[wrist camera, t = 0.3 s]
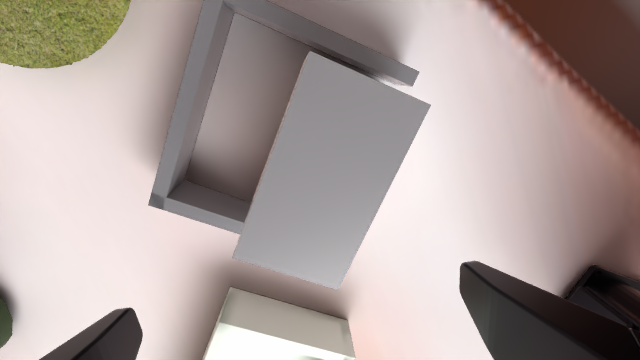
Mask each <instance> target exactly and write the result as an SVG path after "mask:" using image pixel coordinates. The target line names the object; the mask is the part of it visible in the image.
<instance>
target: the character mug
mask: <svg viewBox="0 0 640 360" xmlns="http://www.w3.org/2000/svg"><path fill="white" fill-rule="evenodd" d="M11 336H12V317H11V315H10V313H9V311H8V309H7V306H6V304H5V302H4V301H3V300H2V299H1V298H0V348H1V347H3V346H4V345H5V344H6V343H7V341H8V340H9V339H10V337H11Z"/></svg>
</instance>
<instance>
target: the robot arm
mask: <svg viewBox="0 0 640 360" xmlns="http://www.w3.org/2000/svg"><path fill="white" fill-rule="evenodd" d="M459 288H460V293H461V296H462V298H463V300H464V302H465V305H466V307H467V309H468V311H469V313H470V315H471V317H472V319H473V321H474V323H475V325H476V327H477V329H478V331H479V333H480V335H481V337H482V339H483V341H484V343H485V345H486V347H487V349H488V350H489V352H490V354H491V355H492V357H493V359H494V360H640V282H639V281H637V280H634V279H632V278H629V277H626V276H624V275H621V274H618V273H616V272H613V271H611V270H608V269H605V268H603V267H600V266H598V265H594V266H592V267H590V268H589V269H588V271H587V272H586V273H585V274H584V276H583V277H582V278H581V280H580V281H579V282H578V284H577V285H576V286H575V288H574V289H573V290H572V292H571V293H570V294H569V296H568V297H567V298H566V299H563V298H561V297H559V296H556V295H554V294H552V293H549V292H547V291H545V290H542V289H540V288H538V287H536V286H533V285H531V284H529V283H526V282H524V281H522V280H519V279H517V278H515V277H513V276H510V275H508V274H506V273H503V272H501V271H499V270H497V269H494V268H492V267H490V266H487V265H485V264H483V263H480V262H478V261H471V262H464V263H462V264H461V266H460V285H459ZM142 336H143V334H142V329H141V326H140V324H139V321H138V318H137V316H136V313H135V311H134V310H133V309H132V308H123V309H116V310H114V311H112V312H111V313H109V314H108V315H106V316H105V317H103V318H102V319H100V320H99V321H97V322H96V323H94V324H93V325H91V326H89V327H88V328H86V329H85V330H83V331H82V332H80V333H79V334H77V335H76V336H74V337H73V338H71V339H70V340H68V341H67V342H65V343H64V344H62V345H61V346H59V347H58V348H56V349H54V350H53V351H51V352H50V353H48V354H47V355H45V356H44V357H42V358H41V359H39V360H136V357H137V354H138V351H139V348H140V345H141V342H142Z"/></svg>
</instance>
